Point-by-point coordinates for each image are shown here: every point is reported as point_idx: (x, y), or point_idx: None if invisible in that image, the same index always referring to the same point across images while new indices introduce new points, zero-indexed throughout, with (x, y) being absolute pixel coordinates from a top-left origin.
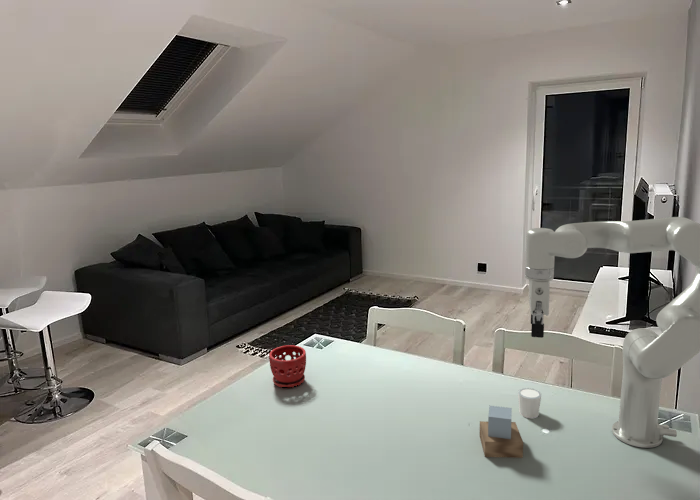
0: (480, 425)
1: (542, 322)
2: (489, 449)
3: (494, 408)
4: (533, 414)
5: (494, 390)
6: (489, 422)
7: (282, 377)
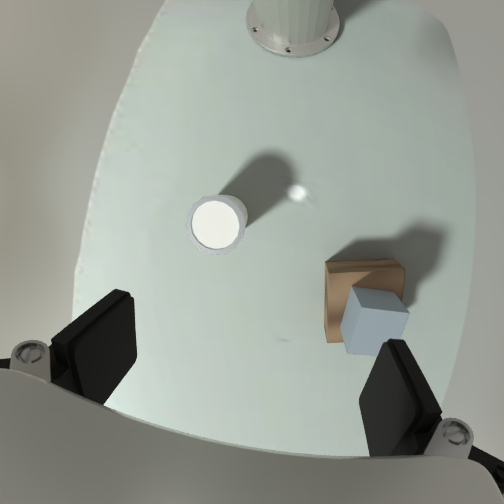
0: (337, 340)
1: (469, 441)
2: None
3: (361, 344)
4: (246, 211)
5: (140, 274)
6: None
7: None
